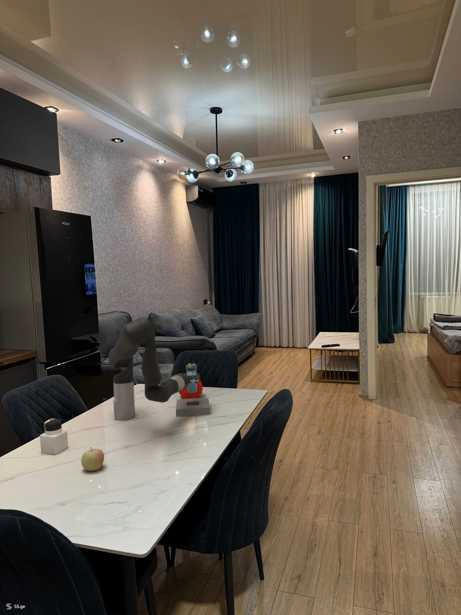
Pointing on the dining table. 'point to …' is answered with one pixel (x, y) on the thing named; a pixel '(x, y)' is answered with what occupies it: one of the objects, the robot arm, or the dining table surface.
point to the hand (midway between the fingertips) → (194, 375)
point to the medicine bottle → (53, 437)
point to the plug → (192, 371)
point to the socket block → (192, 407)
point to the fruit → (92, 459)
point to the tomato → (187, 395)
